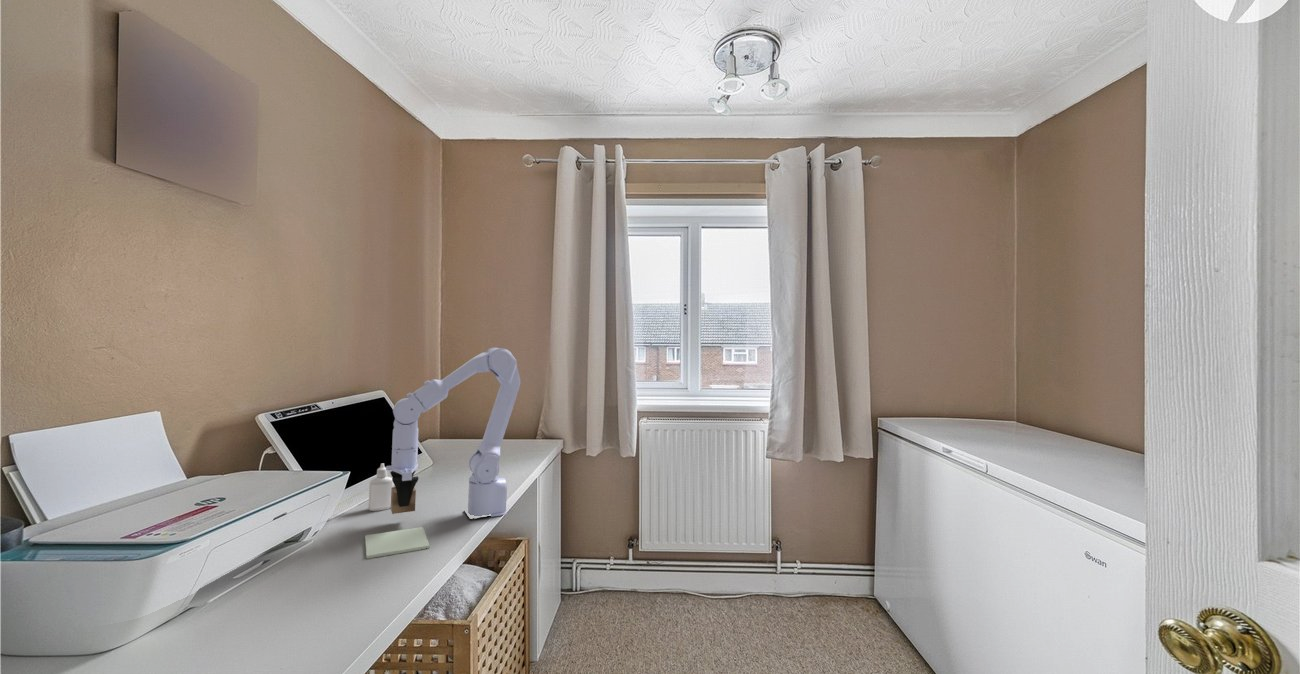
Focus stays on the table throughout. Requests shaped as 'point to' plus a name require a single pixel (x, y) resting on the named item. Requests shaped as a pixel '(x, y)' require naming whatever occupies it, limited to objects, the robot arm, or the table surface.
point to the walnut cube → (395, 504)
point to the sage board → (395, 542)
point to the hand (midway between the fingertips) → (403, 502)
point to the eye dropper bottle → (380, 490)
